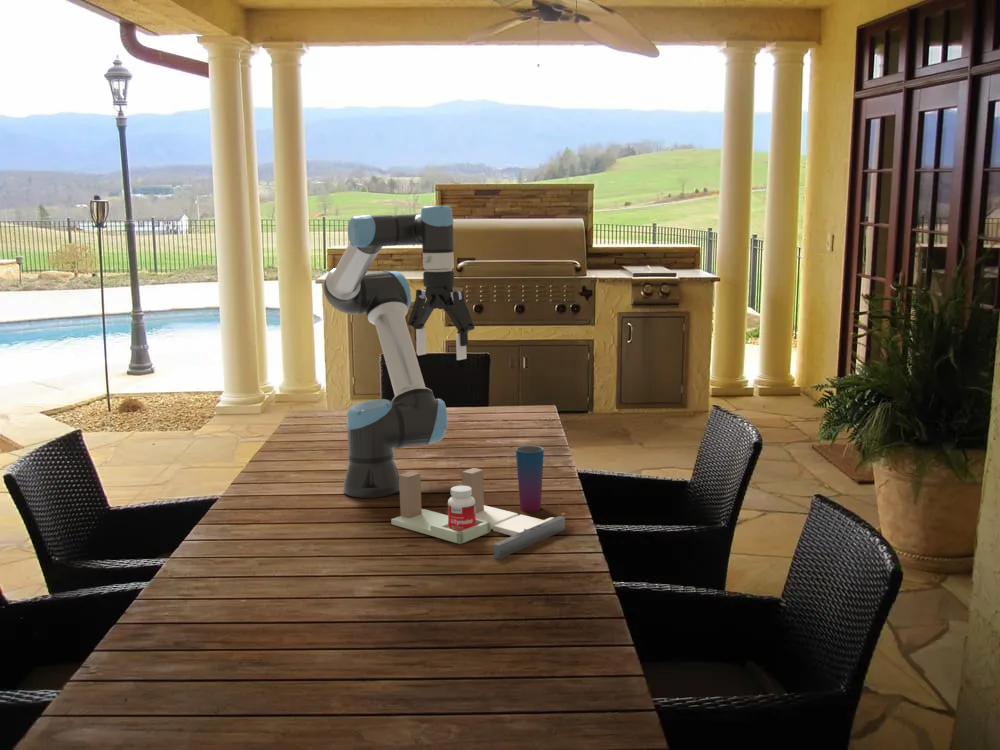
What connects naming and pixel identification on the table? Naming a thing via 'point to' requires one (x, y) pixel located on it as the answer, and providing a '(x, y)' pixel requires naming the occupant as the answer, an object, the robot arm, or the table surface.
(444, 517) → the pale green stand
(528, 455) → the cup
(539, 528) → the end bar
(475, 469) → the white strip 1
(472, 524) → the pill bottle
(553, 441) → the table surface
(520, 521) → the white strip
